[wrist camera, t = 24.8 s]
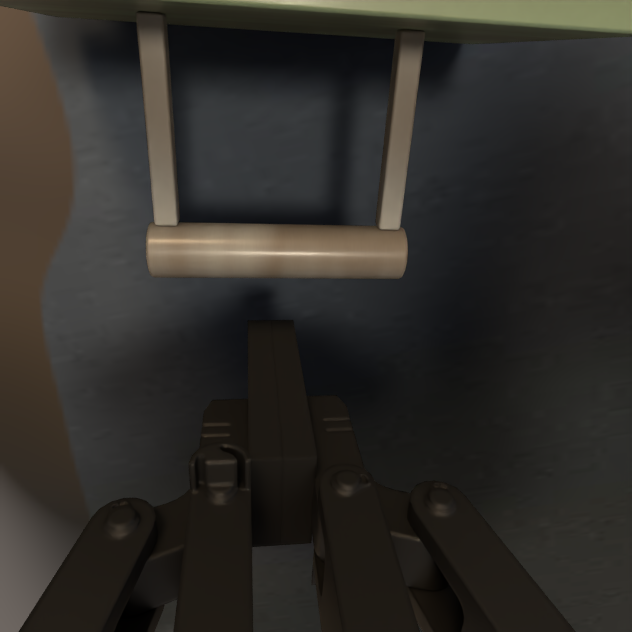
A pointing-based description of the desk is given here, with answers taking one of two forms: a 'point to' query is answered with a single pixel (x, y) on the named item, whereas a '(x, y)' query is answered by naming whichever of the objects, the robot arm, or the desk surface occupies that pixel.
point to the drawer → (409, 33)
